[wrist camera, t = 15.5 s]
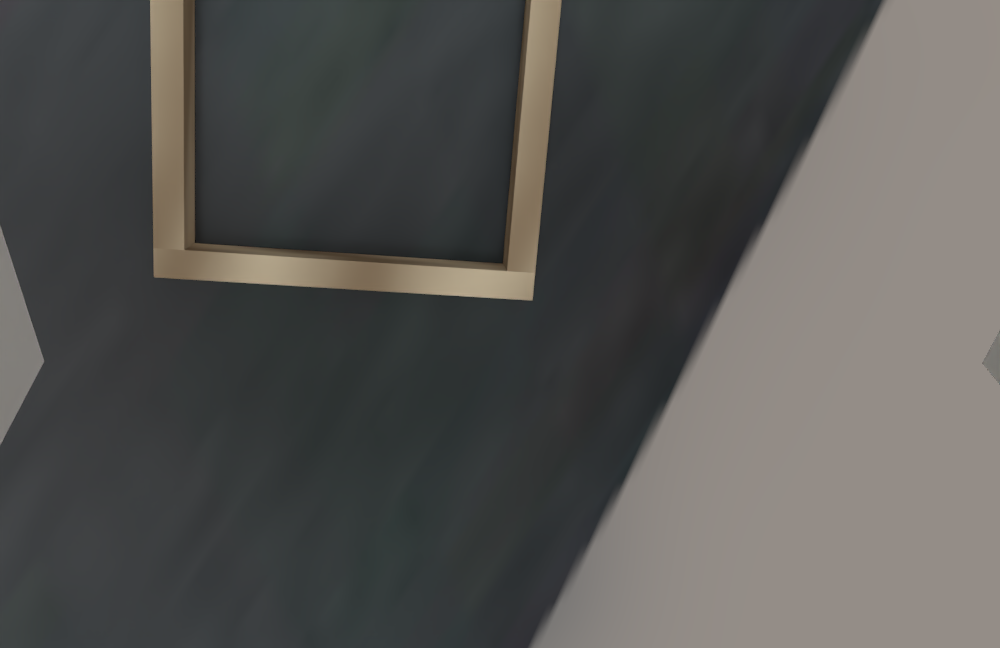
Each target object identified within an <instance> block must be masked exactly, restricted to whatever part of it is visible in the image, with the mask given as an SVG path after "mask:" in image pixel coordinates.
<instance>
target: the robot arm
mask: <svg viewBox="0 0 1000 648" xmlns="http://www.w3.org/2000/svg"><path fill="white" fill-rule="evenodd" d="M43 363H44V359H43V356H42V353H41V350H40V347H39V344H38V340H37V337H36V334H35V331H34V328H33V325H32V322H31V319H30V316H29V313H28V310H27V307H26V303H25V300H24V297H23V294H22V291H21V288H20V285H19V282H18V279H17V276H16V273H15V270H14V266H13V263H12V260H11V257H10V254H9V251H8V248H7V245H6V242H5V239H4V236H3V233H2V229H1V226H0V445H1V443H2V441H3V439H4V437H5V435H6V433H7V431H8V429H9V427H10V426H11V424H12V422H13V420H14V418H15V416H16V414H17V412H18V410H19V408H20V406H21V405H22V403H23V401H24V399H25V397H26V395H27V393H28V391H29V389H30V387H31V386H32V384H33V382H34V380H35V378H36V376H37V374H38V372H39V370H40V368H41V366H42V365H43ZM983 365H984V366H985V367H986V368H987V370H988V371H989V372H990V373H991V374H992V376H993V377H994V378H995V379H996V380H997V382H998V383H999V384H1000V331H999V334H998V335H997V337H996V339H995V340H994V342H993V344H992V346H991V348H990V350H989V352H988V353H987V355H986V357H985V359H984V361H983Z"/></svg>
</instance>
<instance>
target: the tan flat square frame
mask: <svg viewBox="0 0 1000 648" xmlns="http://www.w3.org/2000/svg"><path fill="white" fill-rule="evenodd" d="M561 1H562V0H526V2H525V13H524V25H523V36H522V48H521V59H520V71H519V82H518V94H517V105H516V116H515V128H514V139H513V151H512V162H511V174H510V185H509V197H508V208H507V219H506V231H505V242H504V254H503V264H502V263H487V262H472V261H457V260H442V259H427V258H412V257H397V256H382V255H367V254H352V253H336V252H321V251H306V250H291V249H276V248H261V247H246V246H231V245H216V244H201V243H195V0H150V24H151V101H152V178H153V255H154V277H157V278H173V279H190V280H206V281H222V282H239V283H255V284H271V285H288V286H304V287H320V288H336V289H353V290H369V291H385V292H402V293H418V294H434V295H451V296H467V297H483V298H500V299H516V300H533V290H534V279H535V269H536V259H537V248H538V238H539V228H540V218H541V207H542V197H543V187H544V176H545V166H546V156H547V145H548V135H549V125H550V114H551V104H552V94H553V83H554V73H555V63H556V53H557V42H558V32H559V22H560V11H561Z"/></svg>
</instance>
